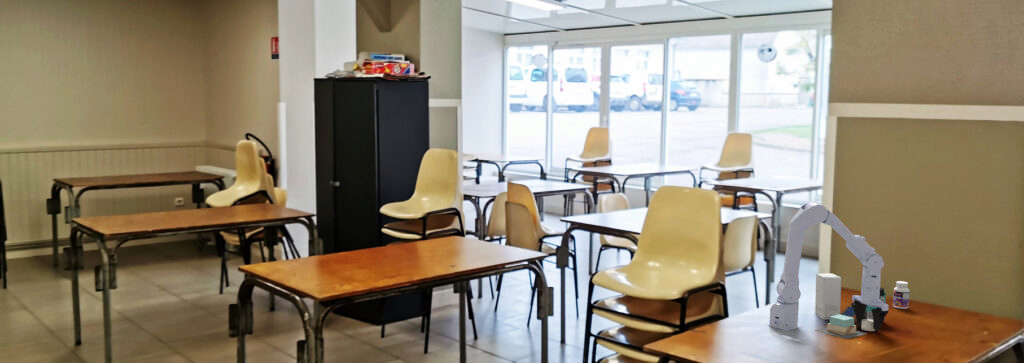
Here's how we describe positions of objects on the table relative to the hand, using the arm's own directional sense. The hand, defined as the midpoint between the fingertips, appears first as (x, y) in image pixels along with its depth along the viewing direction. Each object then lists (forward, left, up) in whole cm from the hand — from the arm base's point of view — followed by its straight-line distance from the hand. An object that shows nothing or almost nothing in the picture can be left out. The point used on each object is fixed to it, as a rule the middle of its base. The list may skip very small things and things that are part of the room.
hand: (868, 326), depth 281 cm
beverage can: (+13, +6, -2) cm, 14 cm away
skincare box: (+3, +18, -2) cm, 18 cm away
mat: (-11, +3, -1) cm, 11 cm away
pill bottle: (+41, +12, -2) cm, 43 cm away
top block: (-11, +3, +2) cm, 12 cm away
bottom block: (-11, +3, -1) cm, 11 cm away
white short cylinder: (0, 0, -2) cm, 2 cm away
